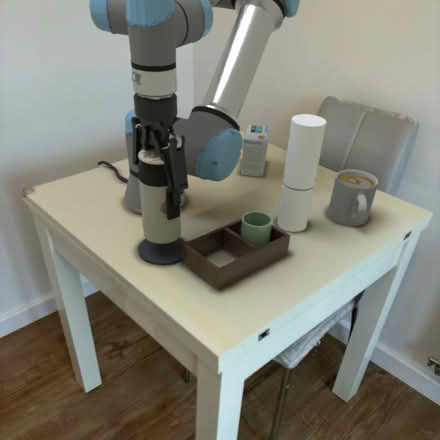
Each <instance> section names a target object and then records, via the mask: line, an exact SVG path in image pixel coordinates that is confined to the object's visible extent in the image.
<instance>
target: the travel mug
mask: <svg viewBox="0 0 440 440" xmlns="http://www.w3.org/2000/svg"><path fill="white" fill-rule="evenodd" d="M166 148H169V147H164V148H162V150H163V149H166ZM138 157H139V159H140V161H141V165H140V167H139V169H138V174H139V186H140V198H141V209H142V214H141V221H142V230H143V231H142V232H143V237H144V239H147V240H149V241H151V242H153V243H160V244H163V243H170V242H173V241H175V240H177V239H178V238H179V237H180V238H181V235H182V212H181V211H182V208H181V204H180V217H177V218H175V219H172V220H170V221H169V220H168V219H167V203H166V189H168V188H169V187H168V184H167V180H166V176H165V173H164V169H163V165H164V162H163V161H162V160H161V158H160V155H158V154H157V152H156V148H153V149H150V150H146V151H145V150H141V151H140V152H139V154H138ZM173 184H174V183H173Z"/></svg>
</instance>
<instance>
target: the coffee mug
mask: <svg viewBox="0 0 440 440" xmlns="http://www.w3.org/2000/svg"><path fill="white" fill-rule="evenodd" d="M378 184H379V181H378V178H377V177H376V176H375V175H373V174H372V173H370V172H367V171H363V170H359V169H344V170H340V171H338V172H337V173H336V174H335V178H334V182H333V187H332V192H331V196H330V201H329V205H328V209H327V215H328V218H330V219H331V220H332V221H334V222H335V223H337V224H340V225H344V226H348V227H358V226H363V225H365V224H366V223H367V222H368V220H369V217H370V213H371V209H372V207H373V202H374V199H375V195H376V192H377V189H378V186H379V185H378Z"/></svg>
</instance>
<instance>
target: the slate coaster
mask: <svg viewBox="0 0 440 440" xmlns="http://www.w3.org/2000/svg"><path fill="white" fill-rule="evenodd" d="M185 242H187V241H186V240H185V239H184V238H182V237H181V236H180V237H179V238H178V239H177V240H175V241H173V242H170V243H163V244H160V243H153V242H151V241H149V240H147V239H146V238H144V239H143V240H142V241H141V242H140V243H139V245H138V247H137V253H138V255H139V257H140V259H142V260H143V261H144V262H146V263H148V264H152V265H157V266H168V265H169V266H170V265H174V264H176V263H177V264H178V263H179V262H181V261H182V244H183V243H185Z"/></svg>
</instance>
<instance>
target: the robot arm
mask: <svg viewBox="0 0 440 440" xmlns="http://www.w3.org/2000/svg"><path fill="white" fill-rule="evenodd" d="M88 1H89V3H88V8H89V13H90V18H91V20H92V23H93V24H94V25H95V27H96V28H97V29H98V30H100V31H102V32H107V33H111V34H112V35H123V36H128V42H129V43H128V44H129V52H130V66H131V77H130V78H131V81H132V90H133V92H134V94H133V107H134V108H132V109H131V110H129V111H128V112H127V113H126V114H125V117H124V134H125V143H126V151H127V160H128V161H127V162H128V170H129V175H128V178H126V177H124V176H122V175H121V174H120V173H119V170H118V168H117V167H115V165H113V164H111V163H110V162H109V161H105V160H99V161H98V162H97V163H96V164H97V166H101V165H105V166H107V167H108V168H110V169H112V170H113V171H114V174H115V176H116V177H117V178H118V179H119V180H121V181H123V182H125V183H126V189H125V192H124V202H125V206H126V208H128V210H129V211H131V212H132V213H133V212H134V213H135V214H138V215H142V209H141V198H140V186H139V174H138V169H139V167H140V165H141V161H140V159H139V157H138V154H139V152H140V151H141V150H145V151H146V150H150V149H153V148H156V152H157V154H158V155H160V158H161V160H162V161H163V162H164V165H163V169H164V173H165V176H166V180H167V184H168V187H169V188H168V189H166V203H167V219H168V220H169V221H170V220H172V219H175V218H177V217H180V204H181V209H182V208H183V207H184V206H185V204H186V192H185V190H187V189H189V177H188V176H190V177H191V176H192V177H195V178H198V179H200V180H203V181H207V180H208V181H212V182H221V181H223V180H226V179H227V178H229V176H230V175H231V174H232V173H233V172H234V170H235V169H236V167H237V165H238V163H239V162H240V158H241V156H242V150H243V139H244V138H243V135H242V133H241V126H240V124H239V122H238V119H239V116H240V113H241V110H242V108H243V106H244V104H245V100H246V98H247V95H248V93H249V90H250V87H251V85H252V83H253V81H254V78H255V75H256V74H257V70H258V68H259V65H260V63H261V60H262V58H263V55H264V52H265V50H266V48H267V46H268V43H269V40H270V38H271V35H272V33H275V32H277V31H278V30H280V28H281V27H282V25H283V23H284V21H285V18H287V19H291V18H293V17H296V15H297V13H298V10H299V6H300V2H301V0H88ZM213 8H219V9H220V8H221V9H227V10H233V11H235V12H236V15H237V16H236V18H235V21H234V23H233V25H232V29H231V31H230V33H229V36H228V38H227V40H226V43H225V46H224V48H223V51H222V53H221V56H220V58H219V60H218V63H217V65H216V68H215V71H214V73H213V75H212V78H211V80H210V83H209V85H208V87H207V89H206V92H205V95H204V97H203V100H202V101H201V103H200V104H197V105H194V106H193V107H192V109H191V111H190V114H189V116H188V118H183V117H178V95H177V94H176V92H177V91H178V74H177V72H178V71H177V49H178V48H181V47H183V46H186V45H190V44H195V43H198V41H200V40H201V39H203V38H205V37H206V36H207V35H209V33H210V31H211V30H212V27H213V24H214V11H213ZM164 147H169V148H166V149H163V150H162V148H164ZM173 183H174V184H173Z"/></svg>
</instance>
